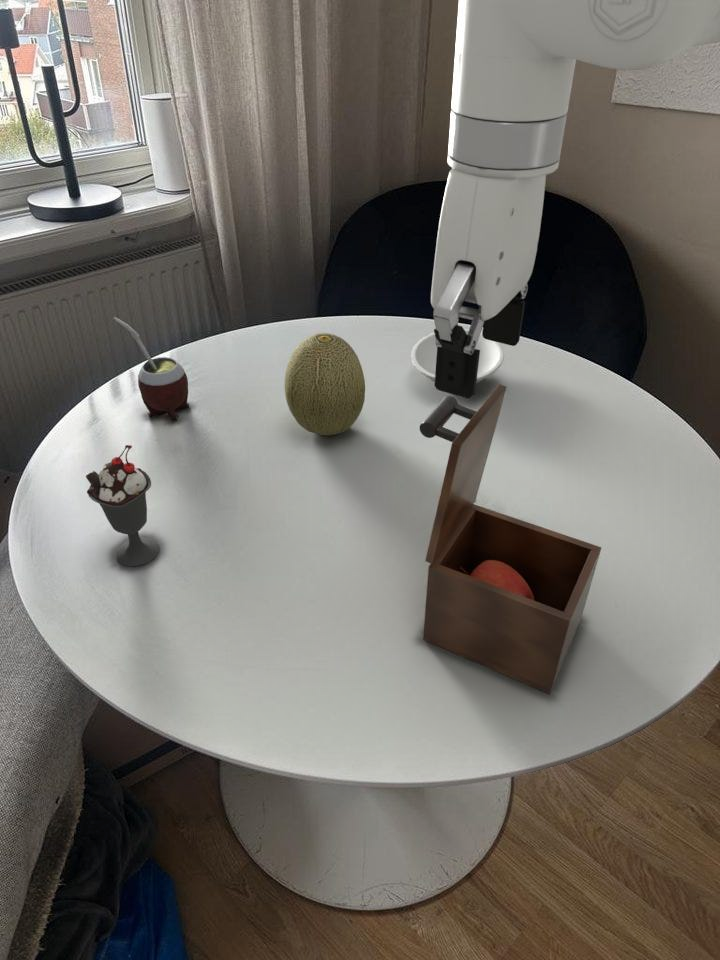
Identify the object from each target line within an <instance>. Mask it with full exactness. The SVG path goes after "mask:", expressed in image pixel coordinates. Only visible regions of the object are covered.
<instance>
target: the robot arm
mask: <svg viewBox="0 0 720 960" xmlns="http://www.w3.org/2000/svg"><path fill="white" fill-rule="evenodd" d="M456 20H457V21H456V35H455V49H454V64H453V74H452V75H453V78H452V89H451V90H452V92H451V93H452V94H451V104H450V105H451V106H450V107H451V108H450V116H449V117H450V119H449V133H448V145H447V146H448V148H447V159H446V162H447V165H448V166H449V167H450V168H451V169H450V170H449V172H448V176H447V181H446V185H445V189H444V195H443V198H442V199H443V200H442V204H441V210H440V214H439V216H440V217H439V221H438V228H437V229H438V230H437V237H436V244H435V245H436V246H435V253H434V260H433V261H434V262H433V270H432V280H431V290H430V304H431V307H432V308H433V313H432V317H433V321H434V326H435V328H434V329H433V333H435V337H436V343H435V344H436V346H437V358H436V371H435V382H434V388H435V389H436V390H437V391H440V392H443V393H447V394H451V395H453V396H457V397H461V398H465V399H469V400H470V399H472V398H473V397H474V395H475V394H476V390H477V383H476V381H477V373H478V364H479V356H480V350H477V349H475V348H476V345H477V342H478V339H479V336H480V333H481V332H483V333H482V336H483V338H484V339H487V340H491V341H495V342H499V343H500V344H503V345H507V346H512V347H515V346H517V345H518V343H519V342H520V338H521V332H522V326H523V319H524V312H525V305H526V300H524V299H525V298H526V296H527V293H528V289H529V285H528V282H529V281H530V279H531V276H532V274H533V270H534V266H535V261H536V258H537V257H536V256H537V252H538V245H539V241H540V239H539V238H540V234H541V233H540V232H541V224H542V217H543V209H544V200H545V190H546V185H547V184H546V179H547V175H551V174H552V173H554V172H556V171H557V170H558V169H559V166H560V159H561V155H562V154H561V153H562V148H563V147H562V146H563V141H564V135H565V131H566V130H565V128H566V122H567V118H568V111H569V105H570V100H571V93H572V87H573V81H574V76H575V75H574V74H575V70H576V63H577V61H580V62H583V63H587V64H590V65H594V66H597V67H602V68H606V69H610V70H617V71H639V70H645V69H646V70H647V69H650V68H652V67H656V66H658V65H660V64H663V63H665V62H667V61H669V60H671V59H672V58H674V57H676V56H677V55H679V54H680V53H682V52H684V51H686V50H687V49H689V48H692V47H697V46H698V47H699V46H703V45H709V44H711V45H712V44H716V43H717V44H718V43H720V0H458V6H457V19H456ZM521 299H522V300H521ZM465 302H466V303H472V304H476V305H478V308H474V307H470V306H466V305H464V303H465ZM459 318H461V319H465V320H471V323H470V326H469V328H468V329H469V332H468V335H467V334H466V332H465V330H464V329H465V328H464V327H463V325H459V321H460V319H459Z"/></svg>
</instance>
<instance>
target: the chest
mask: <svg viewBox="0 0 720 960" xmlns="http://www.w3.org/2000/svg"><path fill="white" fill-rule="evenodd" d="M601 551H602V547H601V546H599V545H595V544H593V543H590V542H587V541H584V540H581V539H579V538H575V537H573V536H570V535H566V534H563V533H560V532H557V531H554V530H551V529H549V528H545V527H543V526H540V525H537V524H534V523H530V522H528V521H525V520H522V519H519V518H516V517H513V516H510V515H507V514H504V513H501V512H499V511H496V510H493V509H489V508H488V507H483V506H481V505H477V504H475V503H474V504H473V505H472V507H471V508H470V510H469V511H468V513H467V514H466V516H465V517H464V519H463V520H462V522H461V523H460V525H459V526H458V528H457V529H456V530H455V532H454V533H453V535H452V536H451V538H450V539H449V541H448V542H447V544H446V545H445V547H444V548H443V550H442V551H441V553H440V554H439V556H438V557H437V558H436V560H435V561H434V563H433V564H430V563H429V565H428V569H427V583H426V596H425V606H424V607H425V610H424V621H423V622H424V623H423V632H422V633H423V635H422V639H423V641H425V642H428V643H430V644H432V645H435V646H437V647H440V648H442V649H444V650H446V651H449V652H451V653H453V654H455V655H458V656H460V657H463V658H464V659H467V660H469V661H472V662H475V663H476V664H479V665H481V666H484V667H485V668H488V669H490V670H493V671H495V672H497V673H499V674H502V675H504V676H507V677H509V678H512V679H513V680H516V681H518V682H521V683H522V684H525V685H528V686H530V687H531V688H535V689H537V690H539V691H541V692H543V693H546V694H549V695H551V693H552V691H553V689H554V686H555V684H556V682H557V680H558V679H557V678H558V676H559V674H560V671H561V669H562V667H563V664H564V662H565V659H566V657H567V654H568V652H569V650H570V647H571V645H572V643H573V640H574V637H575V635H576V632H577V630H578V628H579V625H580V623H581V622H582V618H583V614H584V611H585V607H586V603H587V600H588V596H589V592H590V589H591V586H592V582H593V579H594V575H595V571H596V569H597V565H598V563H599V558H600V554H601ZM486 560H496V561H500V562H502V563H505V564H507V565H509V566H510V567H512V568H513V569H514V570H515V571H517V572H518V573H519V574H520V575H521V576H522V577H523V579H524V580H525V581H526V583H527V584H528V586H529V587H530V589H531V591H532V594H533V596H534V600H531V599H529V598H526V597H523V596H521V595H518V594H516V593H513V592H510V591H508V590H505V589H502V588H500V587H497V586H495V585H492V584H489V583H487V582H484V581H482V580H479V579H476V578H474V577H471V576H468V575H467V574H466V573H465V572H464V571H462V570H460V568H461V567H462V568H463V569H464V570H465V571H466V572H467V573H468V574H469V575H470V574H471V573H472V571H473V570H474V569H475V568H476V567H477V566H478V565H479V564H481V563H482V562H484V561H486Z"/></svg>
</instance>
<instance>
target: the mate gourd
mask: <svg viewBox="0 0 720 960" xmlns="http://www.w3.org/2000/svg"><path fill="white" fill-rule="evenodd" d="M113 320H114V321H116V322H117V323H119V324H120V325H121V326H122V327H124V328H125V329H126V330H127V331H129V333H130V335H131V337H133V340H135V341H136V343H137V344H138V347H139V348H140V349H141V351H142V353H143V355H144V356H145V358H146V360H147V361H145V362H144V363H143V364H142V365H141V366H140V368H139V369H140V370H139V372H138V375H137V384H138V385H137V386H138V389H139V392H140V396H141V399H142V402H143V404H144V405H145V407H146V409H147V411H148V413H147V415H148V418H156V417H159V416H163V415H167V416H168V417H169V419H170V421H171V422H172V423H174V422H177V421H178V418H177V415H176V414H175V412H179V411H183V410H186V409H189V408H190V403H189V402H188V398H189V379H188V375H187V374H186V371H185V368H184V367H183V366H182V364H181V363H180V362H179V361H177V360H176V359H174V358H173V357H166V356H161V357H154V358H151V356H150V354H149V352H148V350H147V349H146V347H145V345H144V344H143V342H142V340H141V338H140V335H139V334H138V332H137V331H136V330H135V329H134V328H132V327H131V326H130V325H129V323H126V322H125V321H123V320H121V319H120V318H118V317H117V316H114V317H113Z"/></svg>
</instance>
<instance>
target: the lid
mask: <svg viewBox="0 0 720 960" xmlns="http://www.w3.org/2000/svg"><path fill="white" fill-rule="evenodd" d="M506 392H507V386H506V385H504V384H502V383H501V384H500V383H498V384H497V386H496V387H495V388H494V389H493V390H492V392H491V393H490V394H489V396H487V398H486V400H485V401H484V402H483V403H482V405H481V406H480V407H479V408H478V409H477V411H476V410H474V409H471V408H469V407H467V406H464V405H461V404H459V401H458V400H457V398H456V397H454V396H453V395H446V396H444V397H443V398H442V399H441V401H440V402H439V403H438V404H437V405H436V406H435V407H434V409H433V410H431V412H429V414H428V415H427V416H426V417H425V419H423V420H422V421H421V423H420V425H419V432H420V433H421V435H422V436H424V437H425V438H428V439H431V438H434V437H439V438H440V439H443V440H446V441H449V442H450V443H451V446H450V451H449V454H448V459H447V464H446V468H445V472H444V477H443V481H442V484H441V490H440V494H439V498H438V503H437V507H436V512H435V516H434V520H433V525H432V529H431V534H430V538H429V542H428V547H427V551H426V555H425V559H424V560H425V562H426V563H428V564H429V565H430V564H433V563H434V561H435V560H436V558H437V557H438V556H439V554H440V553H441V551H442V550H443V548H444V547H445V545H446V544H447V542H448V541H449V539H450V538H451V536H452V535H453V533H454V532H455V530H456V529H457V528H458V526H459V525H460V523H461V522H462V520H463V519H464V517H465V516H466V514H467V513H468V511H469V510H470V508H471V507H472V505H473V504H475V503H476V501H477V496H478V493H479V489H480V487H481V486H480V485H481V482H482V479H483V475H484V471H485V468H486V464H487V460H488V456H489V453H490V450H491V446H492V442H493V438H494V436H495V432H496V428H497V424H498V420H499V417H500V413H501V410H502V406H503V402H504V399H505V395H506ZM453 415H457V416H459V417H461V418H464V419H468V420H469V421H468V422H467V423H466V425H464V427H463V428H462V429H461V431H460V432H456V431H453V430H452V429H449V428H447V427H444V426H445V425H446V423H447V422H448V421H449V420H450V419H451V417H452V416H453Z"/></svg>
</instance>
